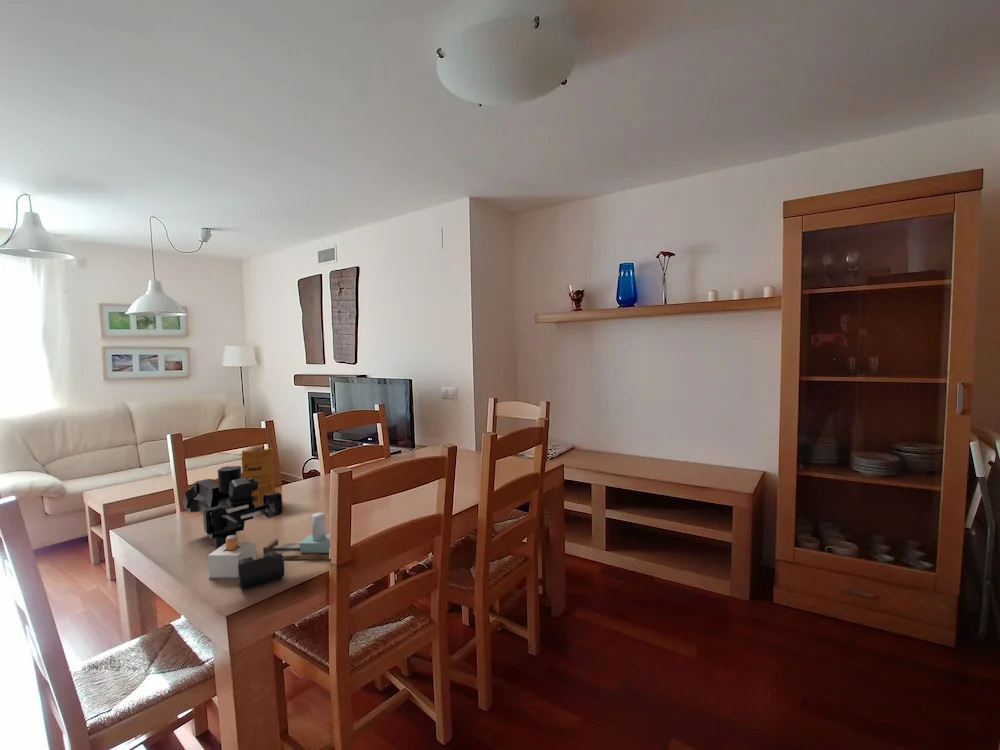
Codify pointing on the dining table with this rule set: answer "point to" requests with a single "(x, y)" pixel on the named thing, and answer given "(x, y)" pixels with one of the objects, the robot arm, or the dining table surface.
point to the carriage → (316, 536)
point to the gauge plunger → (231, 543)
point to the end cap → (260, 570)
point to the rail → (292, 551)
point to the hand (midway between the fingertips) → (257, 519)
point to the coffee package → (259, 472)
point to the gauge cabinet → (229, 561)
